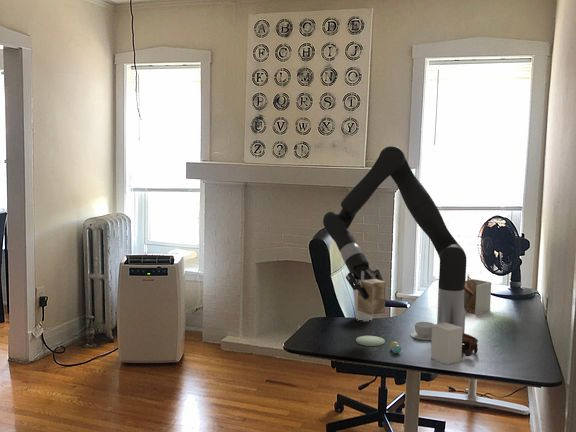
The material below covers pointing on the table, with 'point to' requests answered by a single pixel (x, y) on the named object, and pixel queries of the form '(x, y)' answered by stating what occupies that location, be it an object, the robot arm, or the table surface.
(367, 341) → the felt mat
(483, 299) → the two-tone wooden box
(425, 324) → the teacup
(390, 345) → the amber marble
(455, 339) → the tall cream pedestal
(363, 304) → the tan cardboard box
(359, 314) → the foam cup
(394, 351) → the teal marble
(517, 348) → the table surface
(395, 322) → the table surface
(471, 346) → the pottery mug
